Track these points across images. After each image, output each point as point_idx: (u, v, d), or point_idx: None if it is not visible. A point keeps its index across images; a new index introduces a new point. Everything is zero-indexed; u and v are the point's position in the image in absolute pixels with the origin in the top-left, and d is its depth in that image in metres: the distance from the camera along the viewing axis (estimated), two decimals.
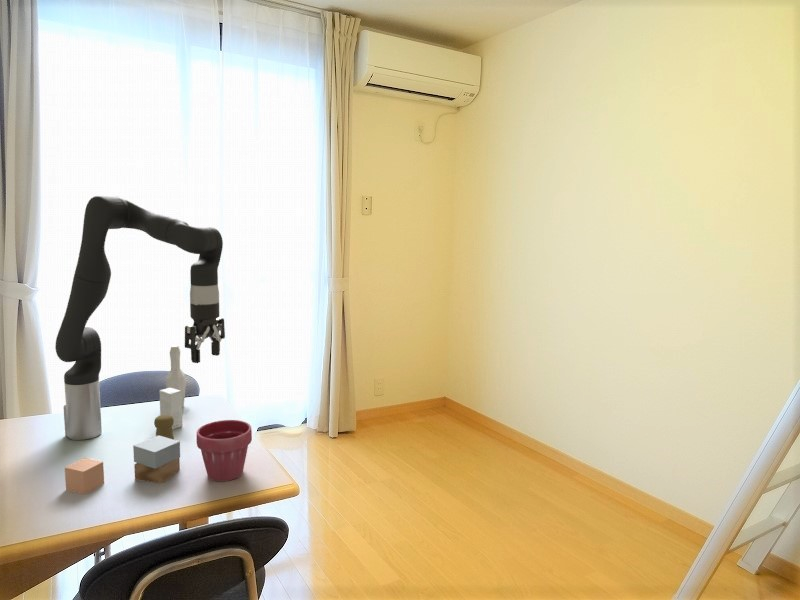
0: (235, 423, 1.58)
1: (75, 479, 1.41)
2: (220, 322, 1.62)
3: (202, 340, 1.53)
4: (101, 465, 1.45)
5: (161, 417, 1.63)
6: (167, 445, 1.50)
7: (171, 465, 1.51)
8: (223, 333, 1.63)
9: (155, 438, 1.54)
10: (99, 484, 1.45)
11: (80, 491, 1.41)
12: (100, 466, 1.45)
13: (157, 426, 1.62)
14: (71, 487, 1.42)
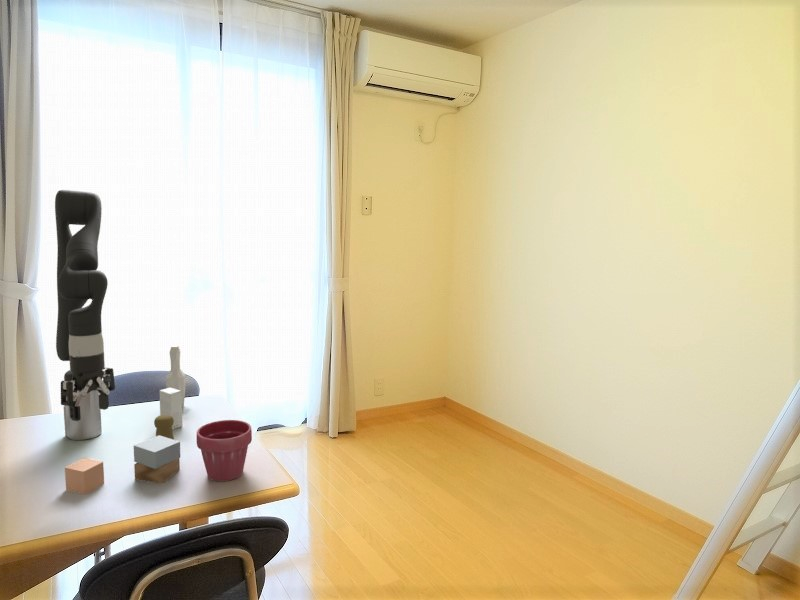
0: (235, 423, 1.58)
1: (75, 479, 1.41)
2: (108, 372, 1.46)
3: (82, 395, 1.38)
4: (101, 465, 1.45)
5: (161, 417, 1.63)
6: (167, 445, 1.50)
7: (171, 465, 1.51)
8: (112, 385, 1.48)
9: (155, 438, 1.54)
10: (99, 484, 1.45)
11: (80, 491, 1.41)
12: (100, 466, 1.45)
13: (157, 426, 1.62)
14: (71, 487, 1.42)
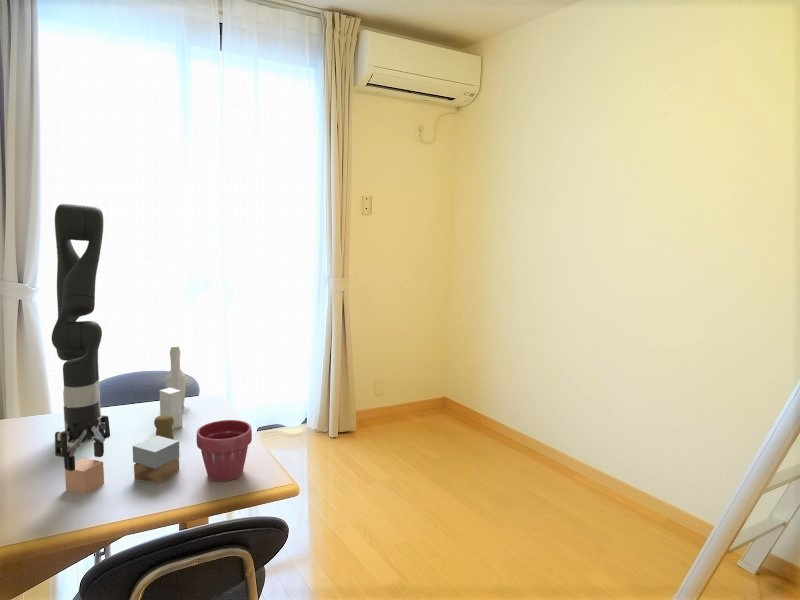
0: (235, 423, 1.58)
1: (75, 479, 1.41)
2: (103, 420, 1.47)
3: (77, 446, 1.39)
4: (101, 465, 1.45)
5: (161, 417, 1.63)
6: (167, 444, 1.50)
7: (170, 465, 1.51)
8: (108, 432, 1.48)
9: (154, 438, 1.54)
10: (99, 484, 1.45)
11: (80, 491, 1.41)
12: (100, 466, 1.45)
13: (157, 426, 1.62)
14: (71, 487, 1.42)
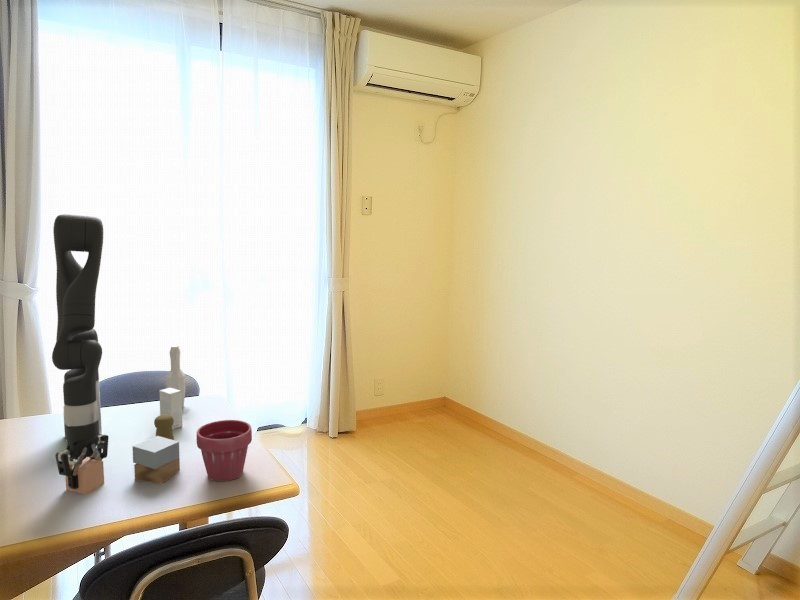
0: (235, 423, 1.58)
1: None
2: (103, 439, 1.48)
3: (79, 464, 1.40)
4: (101, 465, 1.45)
5: (161, 417, 1.63)
6: (167, 445, 1.50)
7: (171, 465, 1.51)
8: (105, 452, 1.48)
9: (154, 438, 1.54)
10: (99, 484, 1.45)
11: (80, 491, 1.41)
12: (100, 466, 1.45)
13: (157, 426, 1.62)
14: None
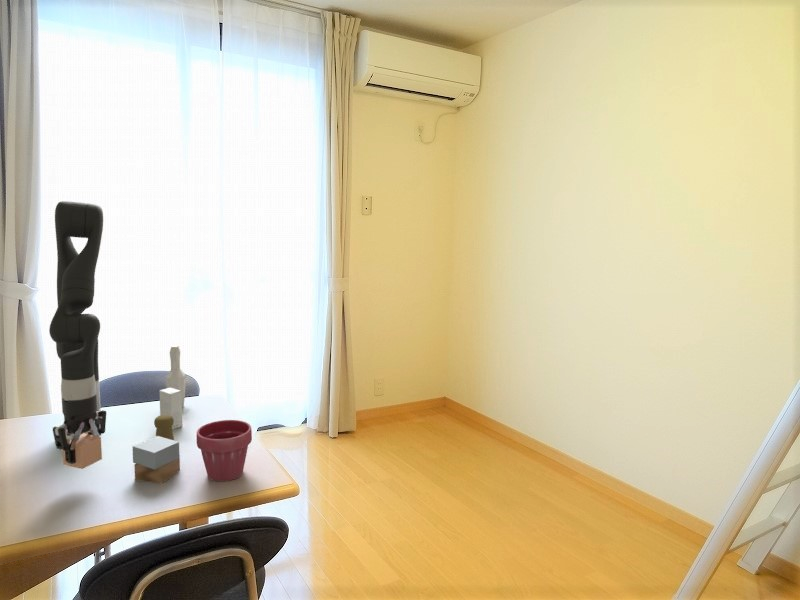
0: (235, 423, 1.58)
1: None
2: (101, 415, 1.47)
3: (76, 439, 1.39)
4: (99, 440, 1.44)
5: (161, 417, 1.63)
6: (166, 445, 1.50)
7: (171, 465, 1.51)
8: (103, 428, 1.47)
9: (154, 439, 1.54)
10: (97, 459, 1.44)
11: (77, 466, 1.40)
12: (98, 441, 1.44)
13: (157, 426, 1.62)
14: None
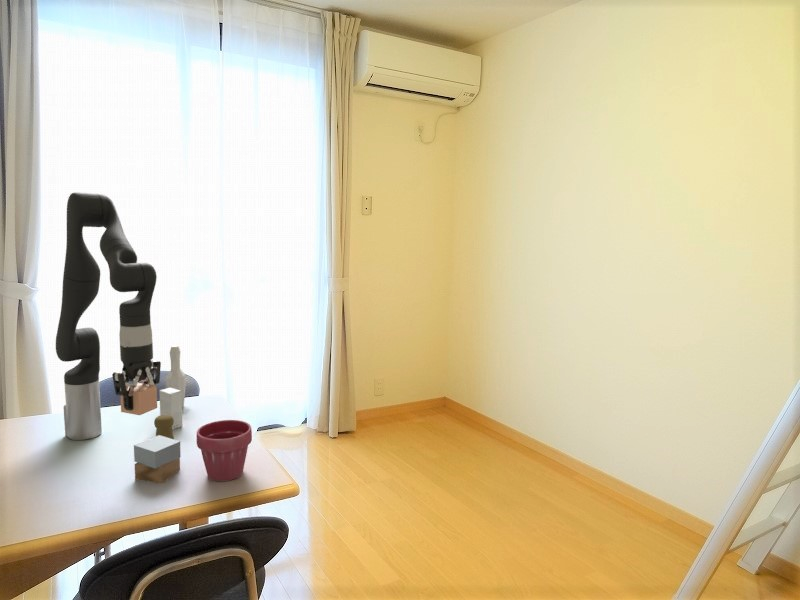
0: (235, 423, 1.58)
1: None
2: (156, 365, 1.50)
3: (134, 385, 1.43)
4: (154, 389, 1.48)
5: (161, 417, 1.63)
6: (168, 444, 1.50)
7: (171, 465, 1.51)
8: (158, 378, 1.51)
9: (156, 438, 1.54)
10: (152, 407, 1.47)
11: (135, 412, 1.44)
12: (154, 390, 1.47)
13: (157, 426, 1.62)
14: None
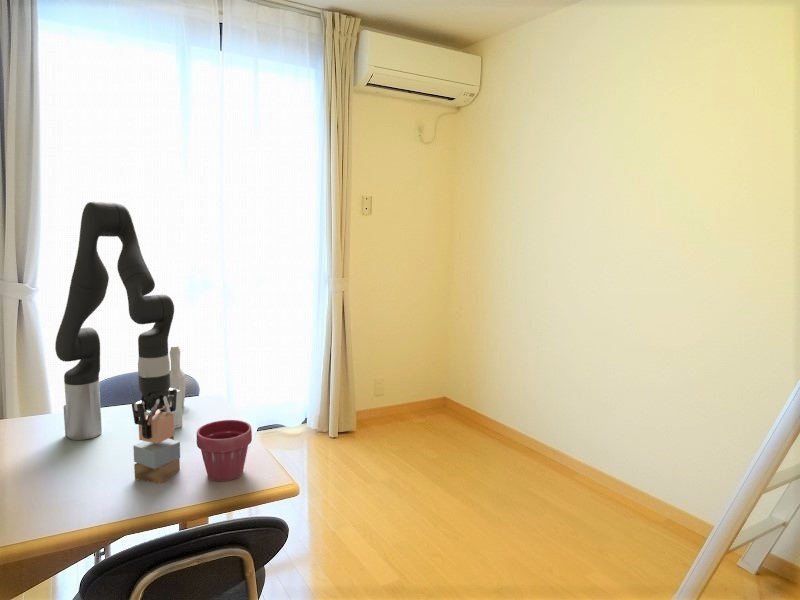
0: (235, 423, 1.58)
1: None
2: (172, 393, 1.54)
3: (153, 415, 1.46)
4: (172, 417, 1.51)
5: None
6: (167, 445, 1.50)
7: (171, 465, 1.51)
8: (174, 406, 1.54)
9: None
10: (170, 435, 1.51)
11: (153, 440, 1.47)
12: (171, 418, 1.51)
13: None
14: None
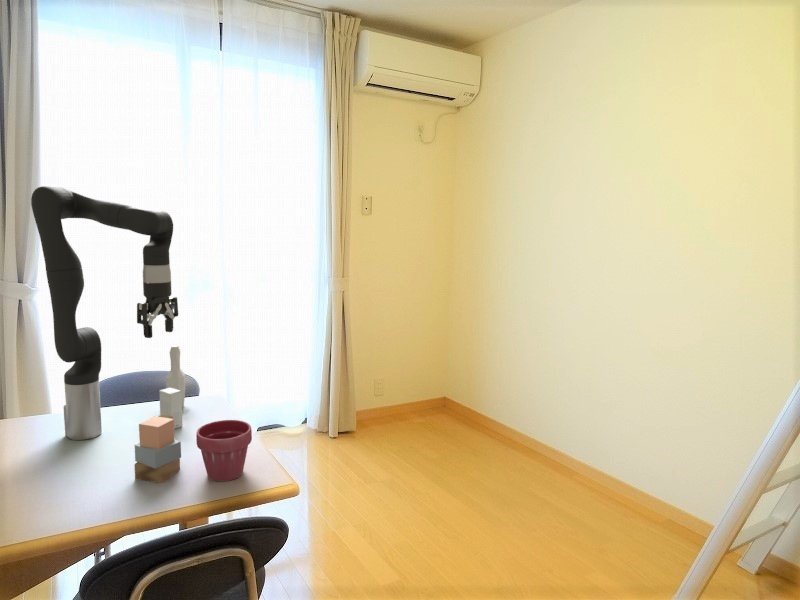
0: (235, 423, 1.58)
1: (149, 435, 1.48)
2: (173, 301, 1.72)
3: (154, 316, 1.63)
4: (172, 422, 1.52)
5: None
6: (168, 444, 1.50)
7: (171, 464, 1.51)
8: (176, 311, 1.73)
9: None
10: (170, 440, 1.52)
11: (154, 446, 1.48)
12: (171, 423, 1.52)
13: None
14: (145, 442, 1.48)
